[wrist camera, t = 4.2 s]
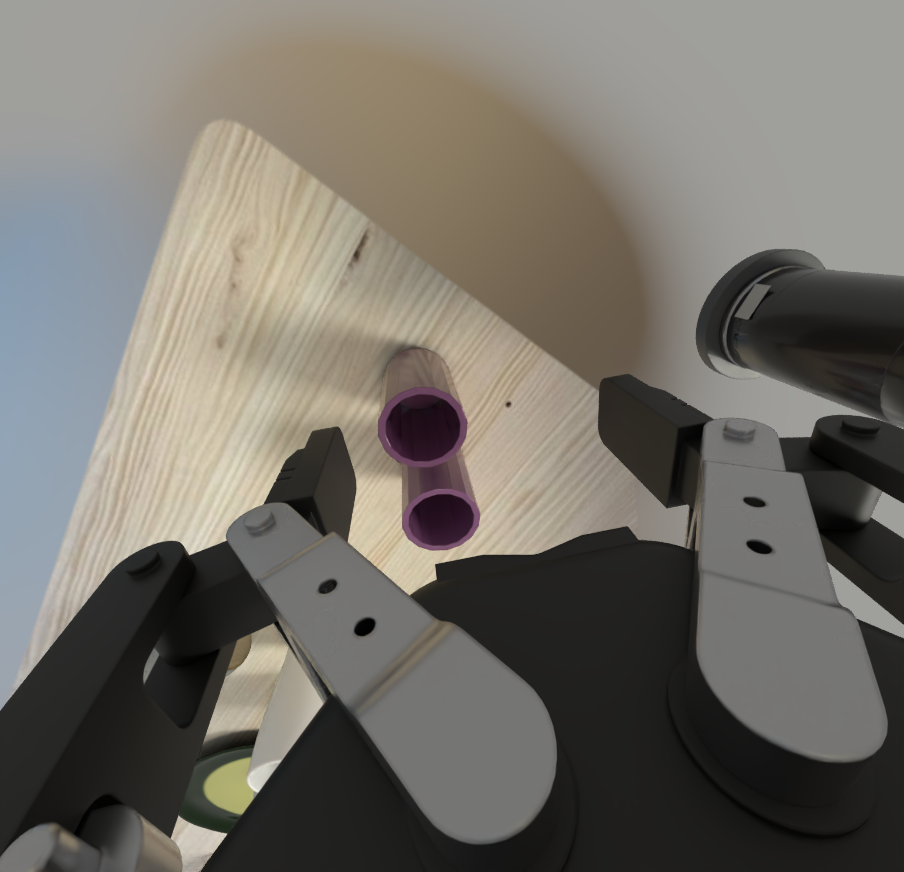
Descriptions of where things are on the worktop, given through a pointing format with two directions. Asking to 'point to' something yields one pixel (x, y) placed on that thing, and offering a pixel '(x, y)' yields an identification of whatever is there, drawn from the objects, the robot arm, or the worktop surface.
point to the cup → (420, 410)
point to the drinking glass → (282, 721)
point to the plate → (219, 790)
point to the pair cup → (439, 504)
